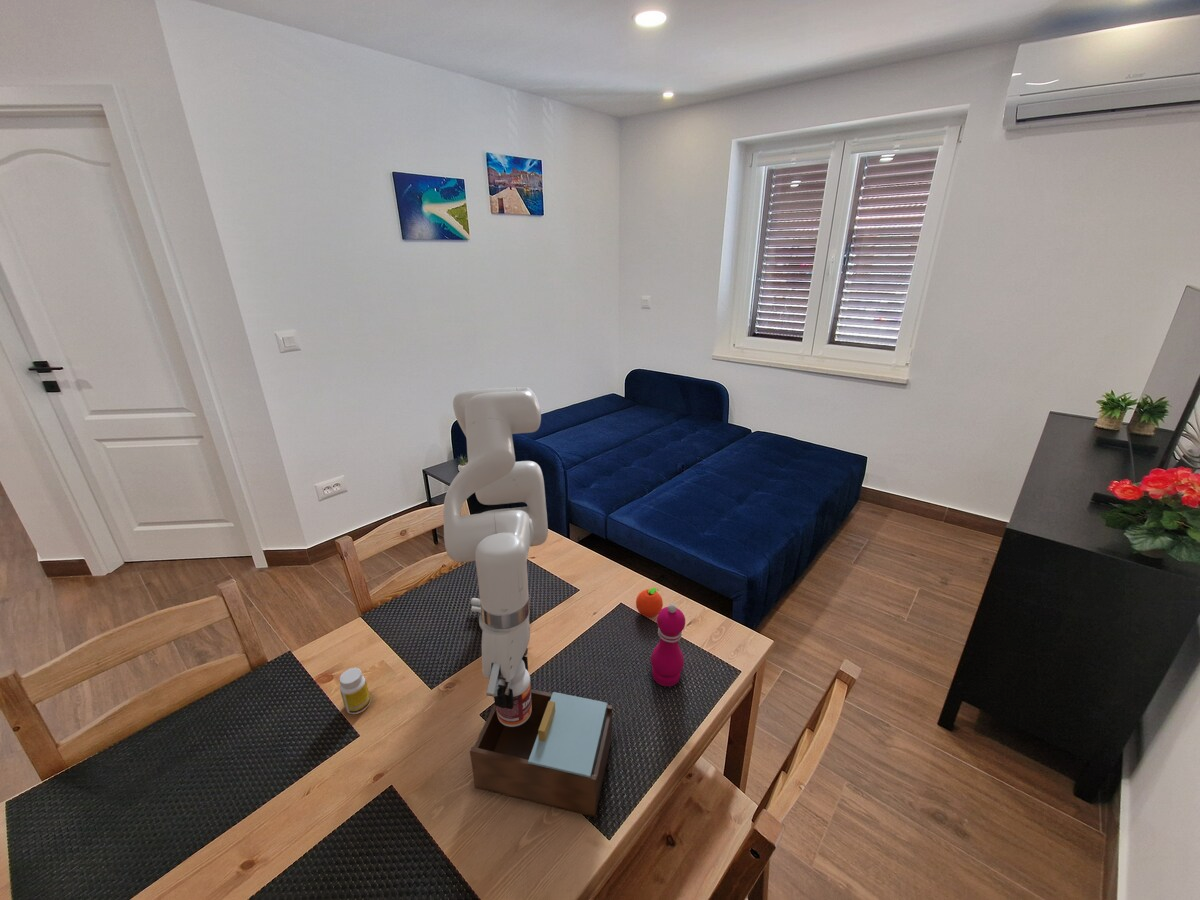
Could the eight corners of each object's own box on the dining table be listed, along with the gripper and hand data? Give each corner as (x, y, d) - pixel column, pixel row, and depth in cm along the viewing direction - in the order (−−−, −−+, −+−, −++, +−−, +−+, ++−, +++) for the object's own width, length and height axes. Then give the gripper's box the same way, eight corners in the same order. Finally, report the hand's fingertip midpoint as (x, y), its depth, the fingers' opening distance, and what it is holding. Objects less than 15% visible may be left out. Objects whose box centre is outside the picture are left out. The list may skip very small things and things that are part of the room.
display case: (474, 787, 86) (469, 750, 82) (505, 718, 99) (502, 683, 95) (595, 817, 82) (595, 780, 78) (611, 741, 94) (612, 705, 90)
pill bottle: (530, 728, 84) (527, 682, 79) (494, 729, 83) (489, 683, 79) (533, 696, 89) (530, 652, 85) (499, 697, 89) (495, 653, 85)
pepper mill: (681, 691, 105) (689, 620, 97) (648, 685, 106) (653, 614, 98) (682, 665, 111) (690, 596, 103) (651, 659, 113) (656, 591, 105)
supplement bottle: (375, 700, 102) (368, 671, 99) (357, 718, 98) (348, 688, 95) (359, 691, 104) (351, 662, 100) (340, 709, 100) (331, 680, 96)
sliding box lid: (528, 763, 80) (527, 751, 79) (553, 693, 92) (552, 682, 91) (590, 778, 78) (590, 765, 77) (607, 704, 90) (607, 692, 89)
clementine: (646, 598, 132) (647, 577, 129) (668, 609, 128) (670, 587, 125) (630, 615, 126) (631, 593, 123) (653, 627, 122) (655, 605, 119)
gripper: (504, 570, 85) (510, 647, 93) (457, 644, 70) (469, 729, 77) (545, 577, 84) (548, 654, 91) (506, 653, 68) (514, 739, 76)
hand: (512, 688), depth 84 cm, fingers closed on pill bottle, 6 cm apart
